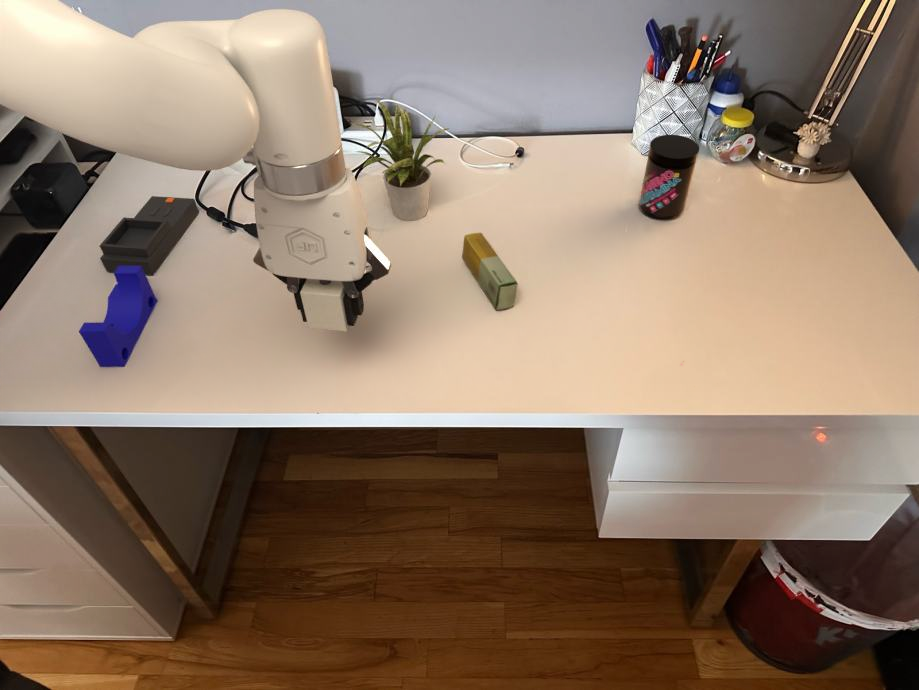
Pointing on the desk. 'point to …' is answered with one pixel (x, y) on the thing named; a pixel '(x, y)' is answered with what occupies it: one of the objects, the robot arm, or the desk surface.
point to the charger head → (324, 304)
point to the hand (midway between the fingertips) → (332, 314)
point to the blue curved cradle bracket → (121, 318)
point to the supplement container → (668, 176)
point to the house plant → (404, 167)
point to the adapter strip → (148, 234)
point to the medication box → (489, 271)
